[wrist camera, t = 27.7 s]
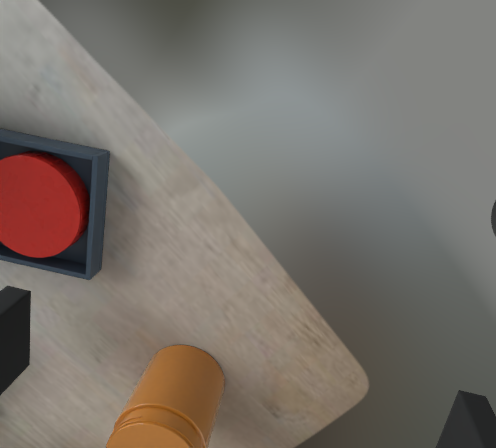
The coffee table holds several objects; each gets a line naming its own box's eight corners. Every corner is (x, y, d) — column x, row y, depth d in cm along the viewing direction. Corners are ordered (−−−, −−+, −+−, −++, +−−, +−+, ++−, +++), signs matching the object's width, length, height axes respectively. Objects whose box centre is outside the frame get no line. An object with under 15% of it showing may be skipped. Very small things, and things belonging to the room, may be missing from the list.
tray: (110, 151, 43) (98, 156, 41) (101, 269, 47) (89, 280, 45) (-15, 125, 44) (-34, 128, 42) (-13, 243, 48) (-30, 253, 46)
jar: (230, 354, 48) (207, 434, 38) (218, 419, 51) (193, 510, 41) (151, 336, 49) (106, 410, 39) (143, 401, 52) (100, 486, 41)
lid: (-22, 163, 45) (-39, 168, 43) (69, 140, 43) (56, 144, 41) (18, 257, 47) (4, 266, 45) (105, 239, 45) (94, 247, 43)
